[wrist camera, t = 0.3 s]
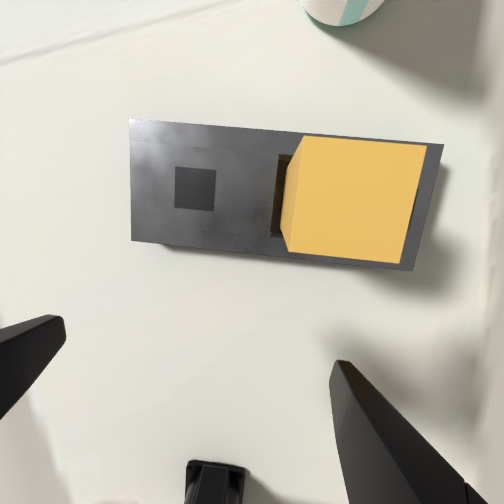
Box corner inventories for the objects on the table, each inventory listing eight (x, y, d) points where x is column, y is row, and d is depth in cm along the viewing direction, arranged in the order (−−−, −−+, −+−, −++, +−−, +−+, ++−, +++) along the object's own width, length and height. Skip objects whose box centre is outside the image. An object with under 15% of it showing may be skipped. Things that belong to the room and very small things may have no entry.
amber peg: (332, 230, 21) (399, 263, 10) (279, 224, 21) (288, 251, 10) (341, 174, 20) (426, 146, 9) (285, 169, 20) (303, 135, 9)
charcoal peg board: (395, 262, 21) (412, 271, 18) (146, 236, 22) (130, 240, 19) (421, 151, 19) (445, 143, 16) (146, 128, 20) (128, 118, 17)
